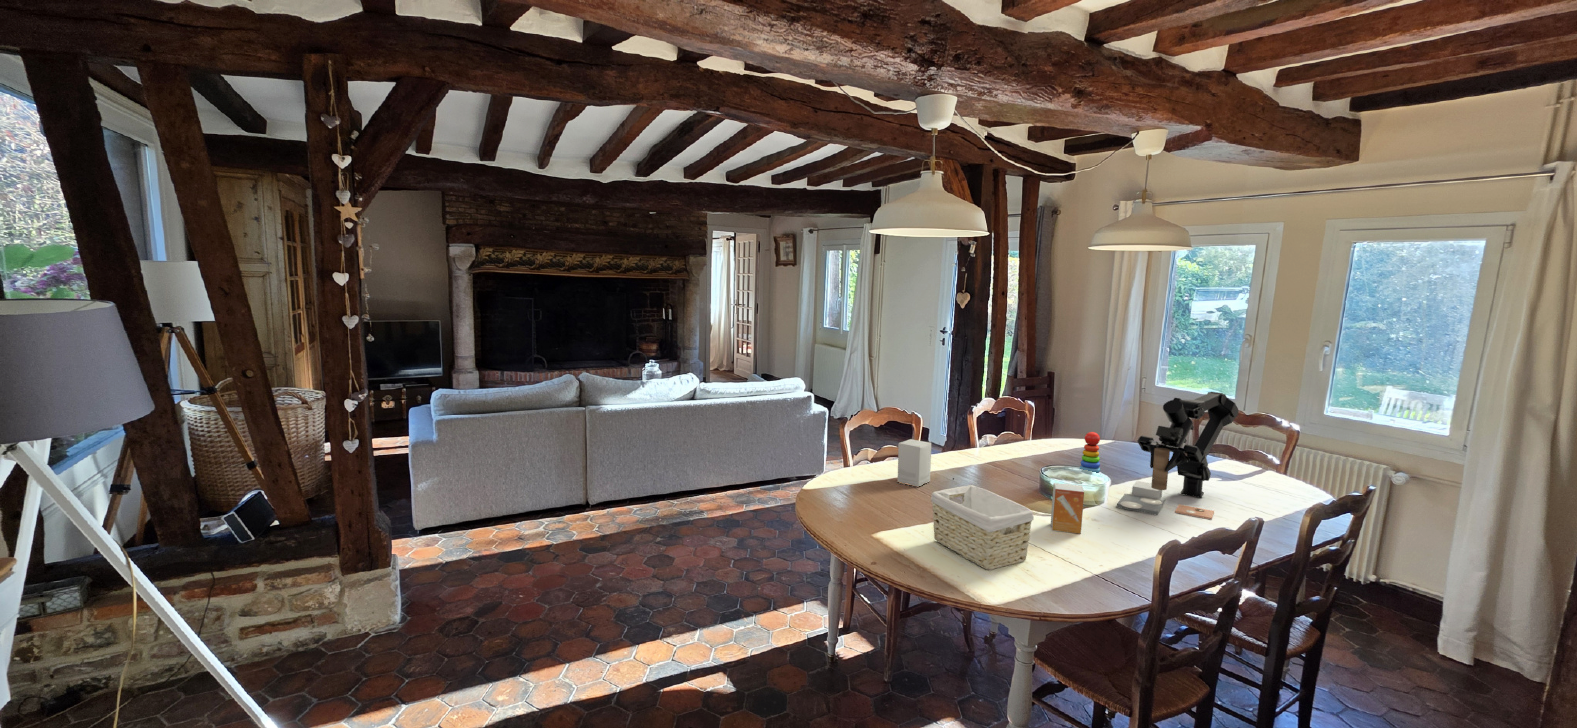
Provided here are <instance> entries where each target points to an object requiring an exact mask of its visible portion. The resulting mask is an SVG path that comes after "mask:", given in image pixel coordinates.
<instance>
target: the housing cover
mask: <svg viewBox="0 0 1577 728" xmlns="http://www.w3.org/2000/svg"><path fill="white" fill-rule="evenodd" d="M1151 485H1152V482H1145V481H1140V480H1136V481H1135V483H1134V484H1132V487H1131V495H1134V496H1140V497H1145V498H1153V499H1157V500H1161V499H1162V496H1163V490H1157V489H1153V488H1152V487H1151Z"/></svg>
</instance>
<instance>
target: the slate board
mask: <svg viewBox="0 0 1577 728" xmlns="http://www.w3.org/2000/svg"><path fill="white" fill-rule="evenodd" d="M1164 505H1165V500H1161V499H1160V500H1157V499H1153V498H1145V497H1140V496H1134V495H1132V494H1128V493H1124V494H1123V496H1122V497H1121V498H1120V499H1119V500H1118V501H1117V502H1116V508H1118V509H1124V510H1129V511H1132V512H1133V511H1134V512H1137V513H1144V514H1149V515H1153V516H1159V515H1160V513H1161V510H1162V509H1163V507H1164Z"/></svg>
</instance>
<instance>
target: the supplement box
mask: <svg viewBox="0 0 1577 728" xmlns="http://www.w3.org/2000/svg"><path fill="white" fill-rule="evenodd" d="M897 448H898V451H897V452H898V453H897V454H898V455H897V456H898V457H897V482H898V481H899V482H902V483H908V484H911V485H914V486H921V485H923V484H924V483H927V482H929V481H930V482H931V463H932V442H929V441H923V440H917V439H913V438H910V439H906V440H904V441H901V442H898V446H897ZM927 484H928V483H927ZM923 486H924V485H923ZM921 487H922V486H921Z"/></svg>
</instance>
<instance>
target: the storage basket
mask: <svg viewBox="0 0 1577 728" xmlns="http://www.w3.org/2000/svg"><path fill="white" fill-rule="evenodd" d="M960 497H961V500H962V502H961V503H958V502H956V501H953V500H952V499H954V498H960ZM950 499H951V500H950ZM930 502H931V504H932V509H931V510H932V511H933V512H932V520H933V535H934V536H933V537H934V540H935V541H936V542H938V543H939V544H941V545H943V546H944V547H946V548H949V550H951V551H954V552H955V553H957V554H958V555H960V556H962V557H963V558H964V559H966V560H969V561H970V562H973V563H975V564H977V565H978V566H980V567H982V568H983V569H985V570H988V571H989V570H994V569H999V568H1002V567H1007V566H1012V565H1014V564H1015V565H1016V564H1019V563H1022V562H1024V561H1026V560H1027V554H1028V548H1029V541H1030V539H1031V538H1030V537H1031V535H1030V534H1031V528H1032V522H1033V521H1034V512H1033V510H1031V509H1030V508H1028V507H1027V506H1024V505H1022V504H1020V503H1018V502H1015V501H1014V500H1011V499H1009V498H1006V497H1004V496H1001V495H999V494H997V493H995V492H992V491H990V490H988V489H986V488H982V487H979V486H975V485H973V484H971V485H964V486H958V487H952V488H946V489H941V490H937V491H933V492H932V493H931V498H930Z"/></svg>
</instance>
